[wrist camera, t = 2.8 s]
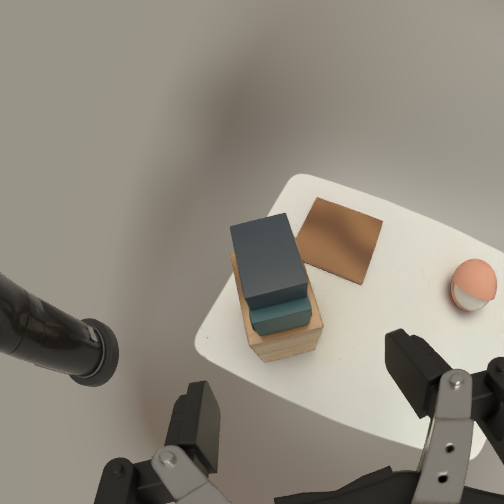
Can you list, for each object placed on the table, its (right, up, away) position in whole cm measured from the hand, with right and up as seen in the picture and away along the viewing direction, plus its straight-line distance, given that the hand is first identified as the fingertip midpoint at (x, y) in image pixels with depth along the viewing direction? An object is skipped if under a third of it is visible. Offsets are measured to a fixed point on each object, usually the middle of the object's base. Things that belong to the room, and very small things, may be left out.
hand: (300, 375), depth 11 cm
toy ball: (+31, -2, +24) cm, 39 cm away
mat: (+11, +7, +32) cm, 35 cm away
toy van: (0, +2, +16) cm, 16 cm away
